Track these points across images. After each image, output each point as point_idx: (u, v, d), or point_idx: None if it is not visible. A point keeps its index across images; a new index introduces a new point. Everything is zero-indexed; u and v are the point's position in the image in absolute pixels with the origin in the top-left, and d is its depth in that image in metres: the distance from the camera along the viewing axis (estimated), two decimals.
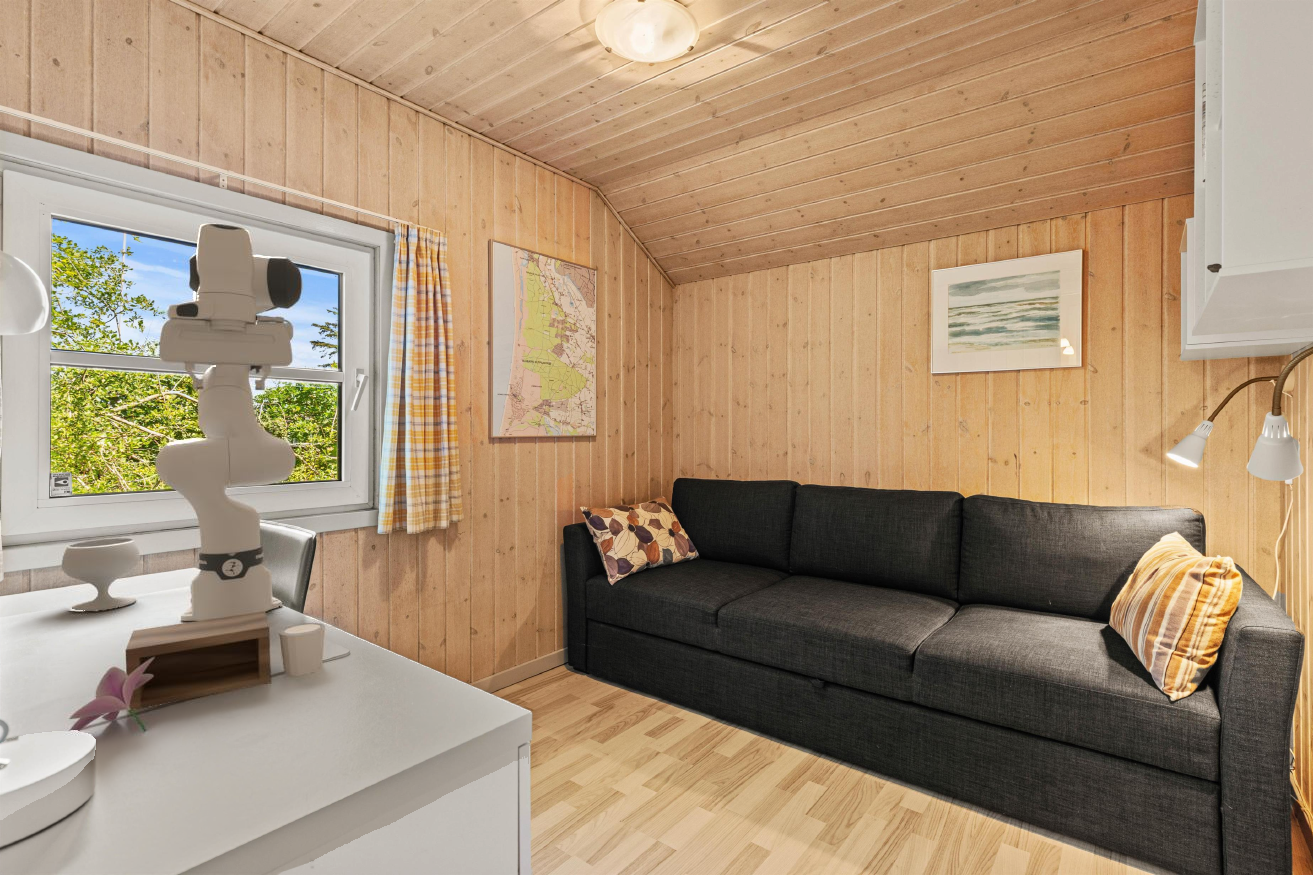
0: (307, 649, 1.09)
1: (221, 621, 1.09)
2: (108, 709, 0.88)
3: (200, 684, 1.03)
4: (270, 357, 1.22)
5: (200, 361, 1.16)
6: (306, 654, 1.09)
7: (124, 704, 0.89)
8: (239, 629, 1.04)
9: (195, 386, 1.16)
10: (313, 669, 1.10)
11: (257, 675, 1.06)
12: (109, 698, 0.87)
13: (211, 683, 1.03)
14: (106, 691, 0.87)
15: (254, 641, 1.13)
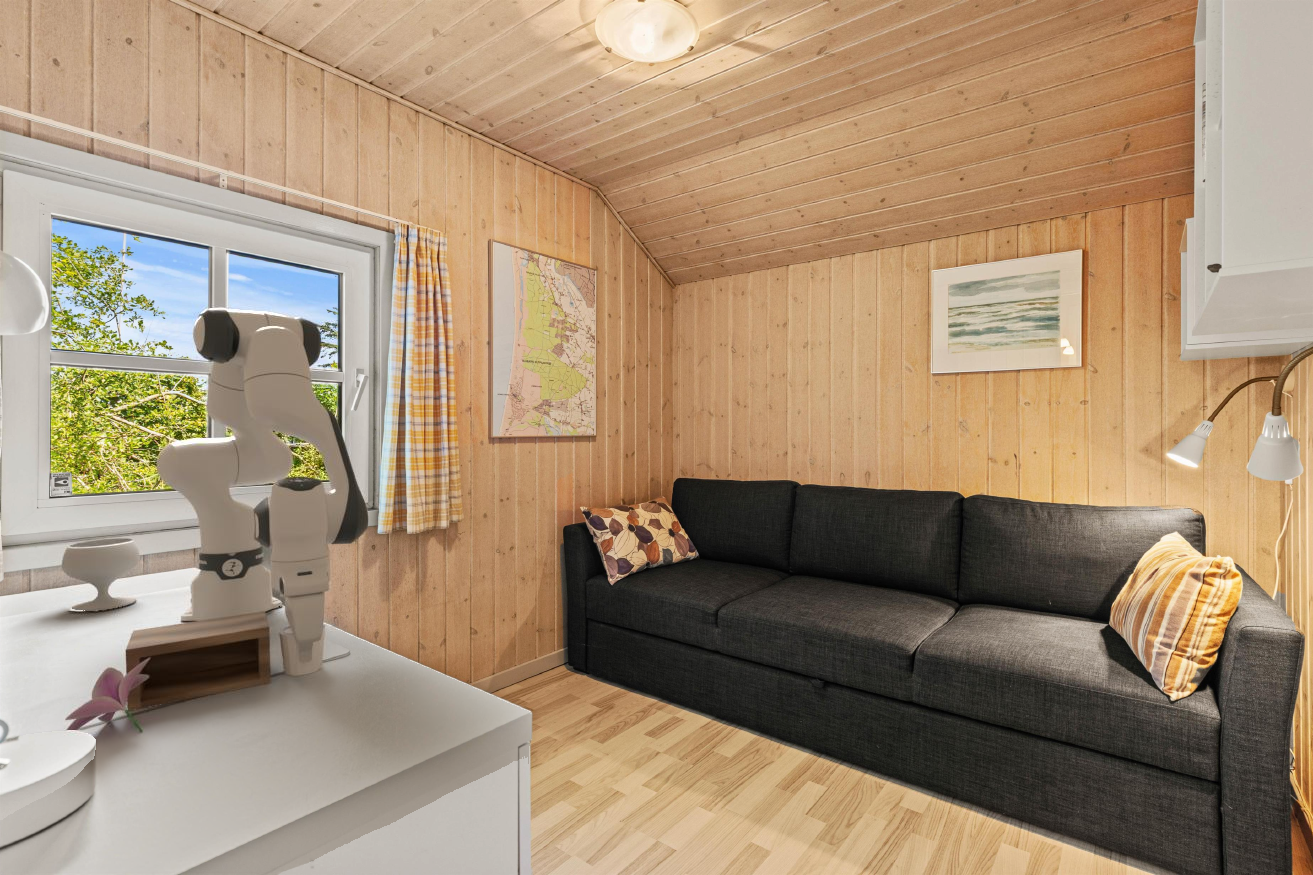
0: None
1: (221, 621, 1.09)
2: (104, 710, 0.88)
3: (200, 684, 1.03)
4: None
5: None
6: None
7: (120, 705, 0.89)
8: (239, 629, 1.04)
9: None
10: (313, 669, 1.10)
11: (257, 675, 1.06)
12: (105, 699, 0.87)
13: (211, 683, 1.03)
14: (102, 692, 0.87)
15: (254, 641, 1.13)
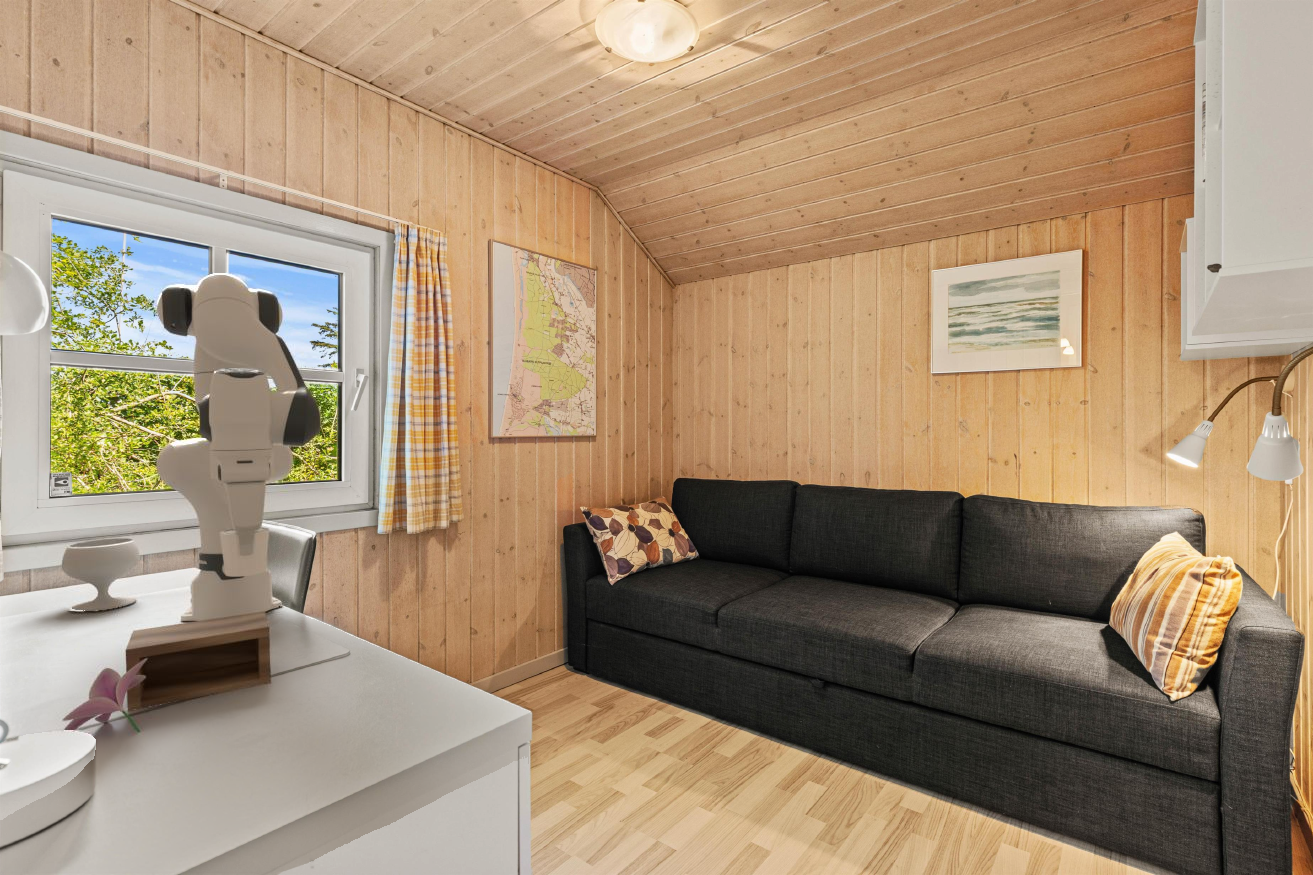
0: None
1: (221, 621, 1.09)
2: (101, 710, 0.88)
3: (200, 684, 1.03)
4: None
5: None
6: (248, 555, 1.05)
7: (117, 705, 0.89)
8: (239, 629, 1.04)
9: (252, 551, 1.05)
10: (255, 571, 1.07)
11: (257, 675, 1.06)
12: (102, 699, 0.87)
13: (211, 683, 1.03)
14: (99, 692, 0.87)
15: (254, 641, 1.13)
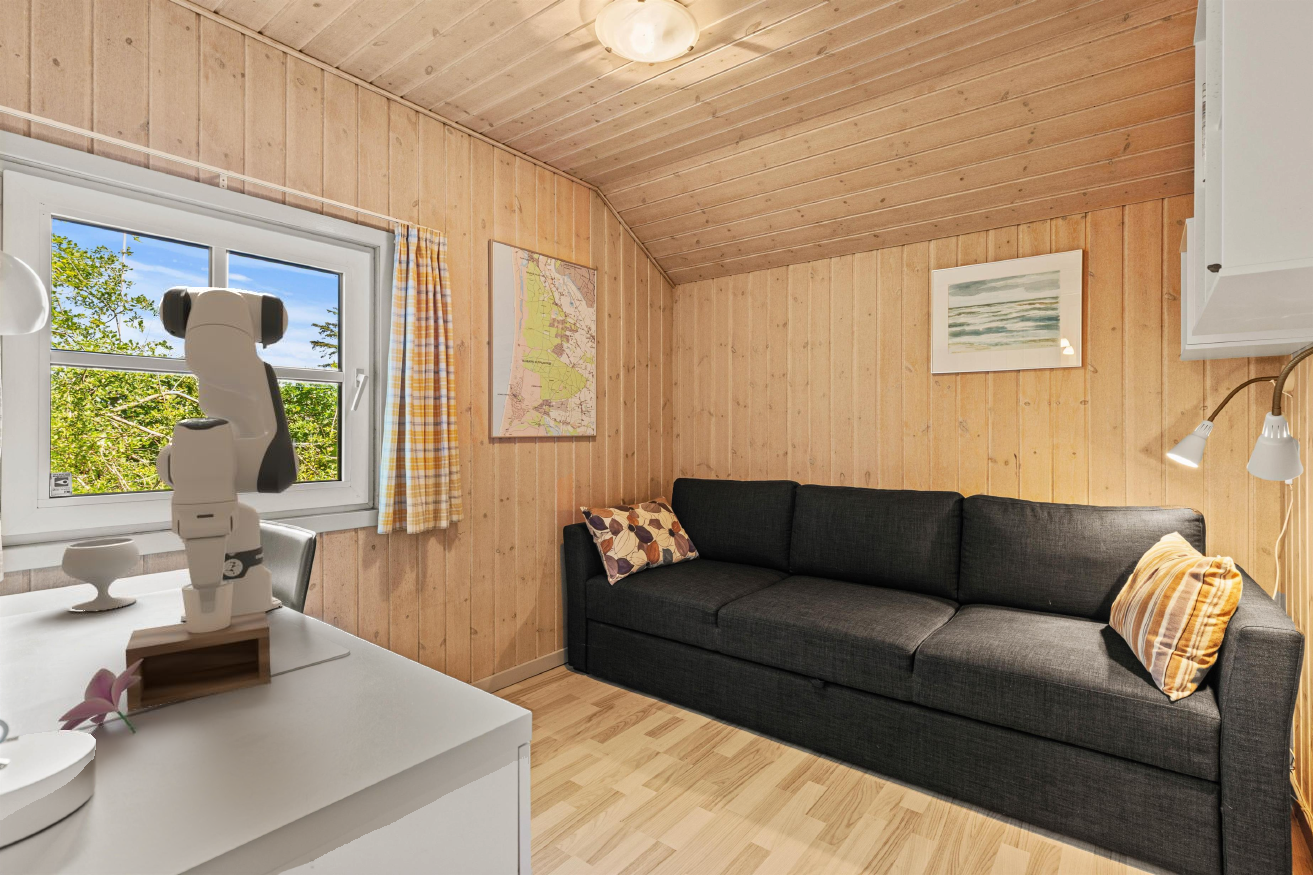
0: None
1: None
2: (97, 711, 0.87)
3: (200, 684, 1.03)
4: None
5: None
6: None
7: (113, 706, 0.88)
8: (239, 629, 1.04)
9: (214, 608, 1.02)
10: (218, 626, 1.04)
11: (257, 675, 1.06)
12: (98, 700, 0.87)
13: (211, 683, 1.03)
14: (95, 693, 0.87)
15: (254, 641, 1.13)
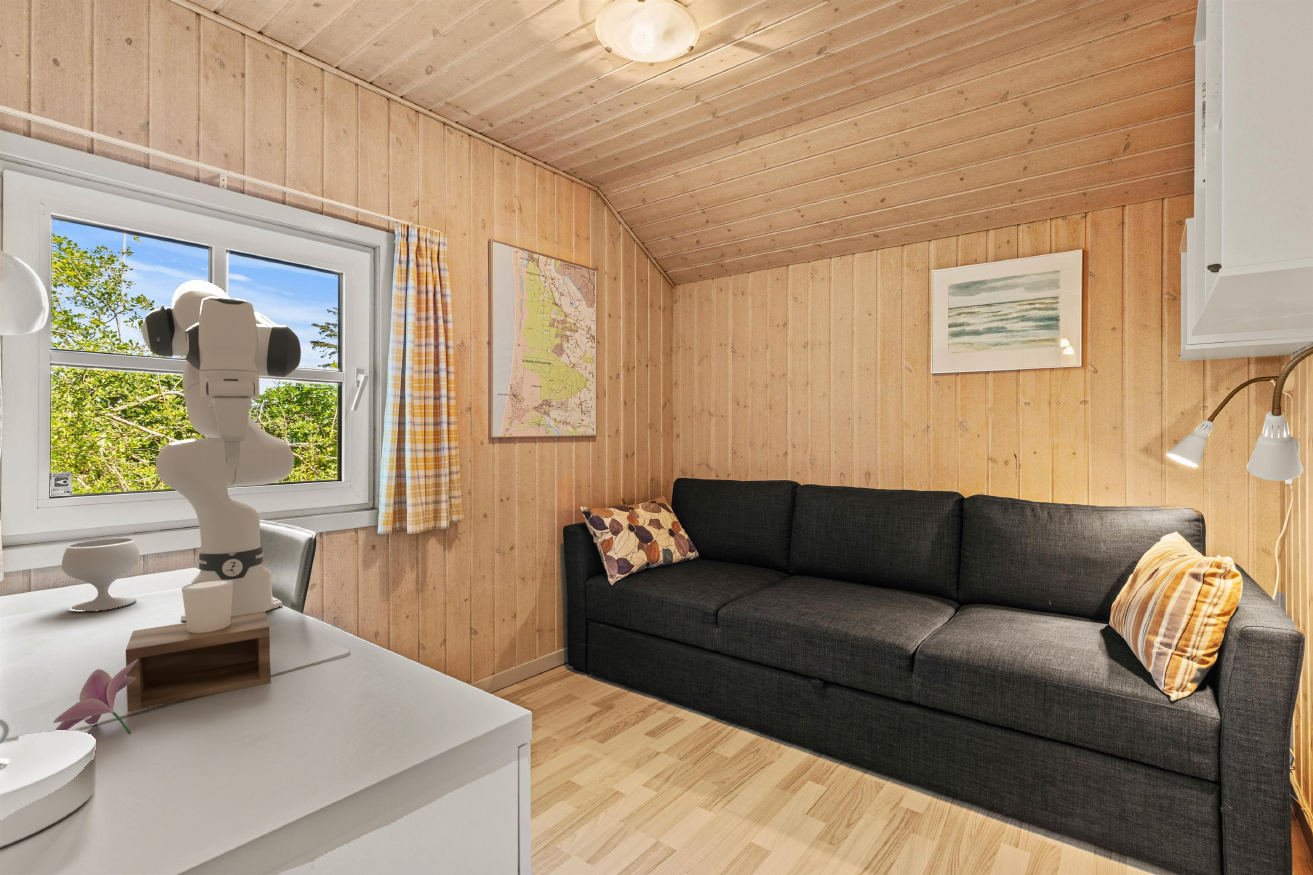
0: (210, 605, 1.03)
1: None
2: (92, 712, 0.87)
3: (200, 684, 1.03)
4: None
5: None
6: (209, 610, 1.03)
7: (108, 707, 0.88)
8: (239, 629, 1.04)
9: (239, 465, 1.13)
10: (218, 626, 1.04)
11: (257, 675, 1.06)
12: (93, 701, 0.87)
13: (211, 683, 1.03)
14: (90, 694, 0.86)
15: (254, 641, 1.13)
